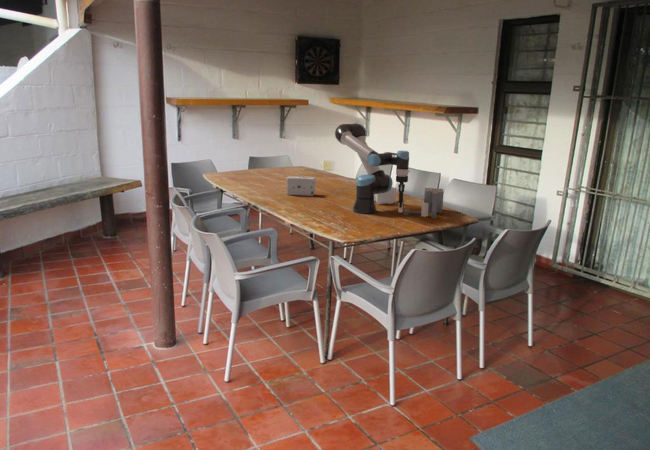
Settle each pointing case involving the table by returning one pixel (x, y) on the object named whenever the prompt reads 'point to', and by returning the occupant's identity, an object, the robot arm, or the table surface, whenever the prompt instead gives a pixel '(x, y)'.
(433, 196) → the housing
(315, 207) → the table surface
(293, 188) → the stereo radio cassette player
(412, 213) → the plug
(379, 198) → the cable organizer
